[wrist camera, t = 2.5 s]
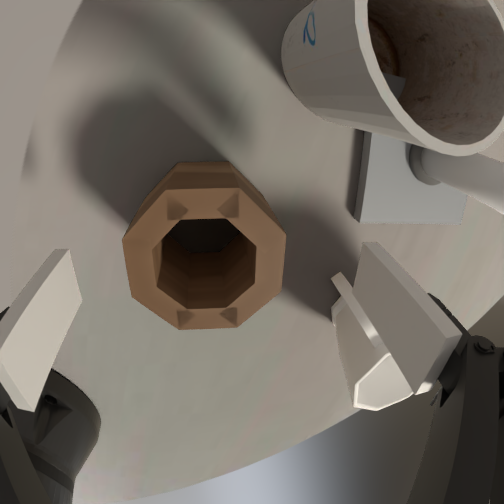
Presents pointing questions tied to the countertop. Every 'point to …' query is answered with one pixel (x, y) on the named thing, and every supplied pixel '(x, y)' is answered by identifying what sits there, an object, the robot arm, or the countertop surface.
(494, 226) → the countertop surface
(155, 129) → the countertop surface
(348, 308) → the cup
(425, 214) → the peg stand with ring
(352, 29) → the mug
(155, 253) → the collar
